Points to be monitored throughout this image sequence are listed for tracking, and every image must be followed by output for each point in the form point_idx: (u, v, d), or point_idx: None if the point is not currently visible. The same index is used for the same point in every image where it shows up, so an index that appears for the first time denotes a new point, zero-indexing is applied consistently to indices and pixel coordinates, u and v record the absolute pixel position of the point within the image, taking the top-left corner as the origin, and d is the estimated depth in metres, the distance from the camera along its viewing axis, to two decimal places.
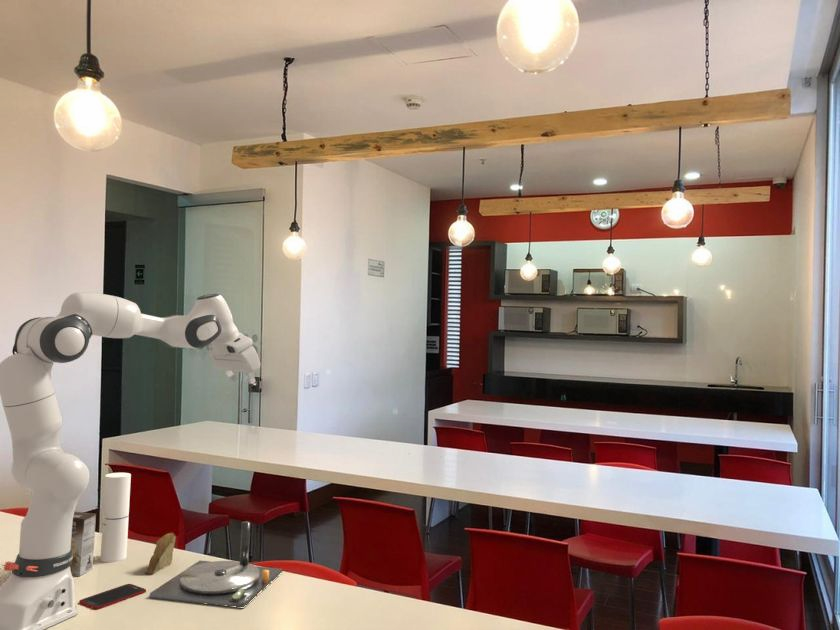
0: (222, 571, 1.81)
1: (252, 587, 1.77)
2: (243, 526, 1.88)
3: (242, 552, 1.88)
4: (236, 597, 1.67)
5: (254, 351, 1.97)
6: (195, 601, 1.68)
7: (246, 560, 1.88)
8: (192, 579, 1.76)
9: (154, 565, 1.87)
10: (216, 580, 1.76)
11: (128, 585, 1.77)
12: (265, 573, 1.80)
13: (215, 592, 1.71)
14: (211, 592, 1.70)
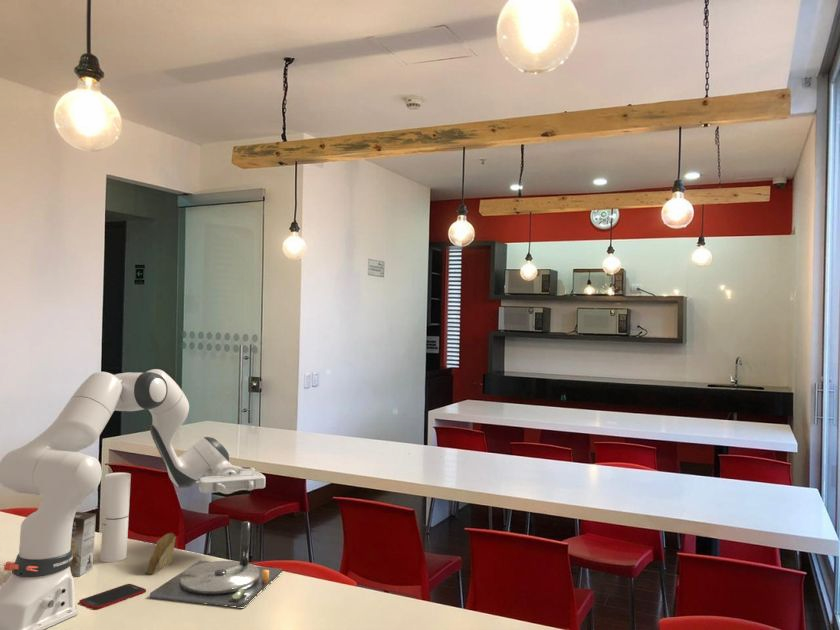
0: (222, 571, 1.81)
1: (252, 587, 1.77)
2: (243, 526, 1.88)
3: (242, 552, 1.88)
4: (236, 597, 1.67)
5: None
6: (195, 601, 1.68)
7: (246, 560, 1.88)
8: (192, 579, 1.76)
9: (154, 565, 1.87)
10: (216, 580, 1.76)
11: (128, 585, 1.77)
12: (265, 573, 1.80)
13: (215, 592, 1.71)
14: (211, 592, 1.70)
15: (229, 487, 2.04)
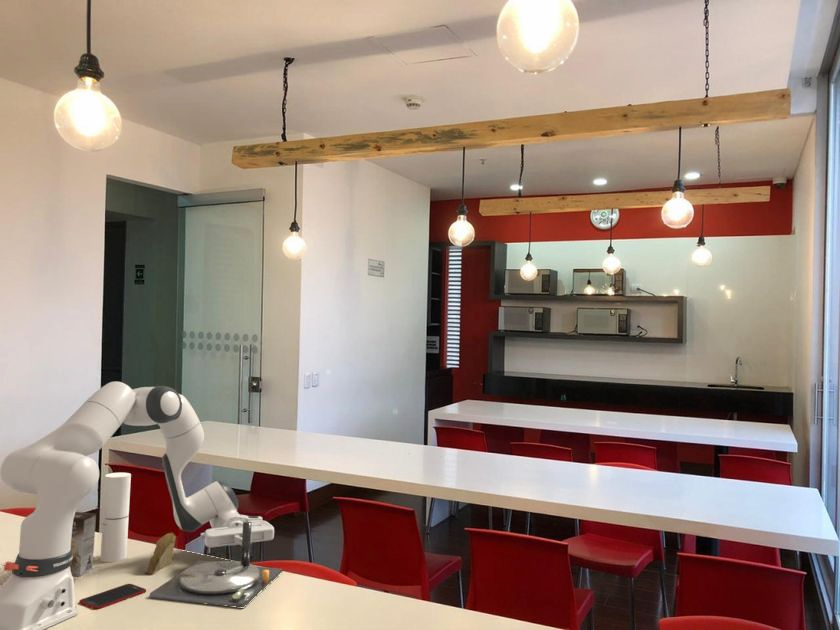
0: (222, 571, 1.81)
1: (252, 587, 1.77)
2: (244, 526, 1.88)
3: (243, 552, 1.88)
4: (236, 597, 1.67)
5: None
6: (195, 601, 1.68)
7: (247, 560, 1.88)
8: (191, 579, 1.76)
9: (154, 565, 1.87)
10: (215, 580, 1.76)
11: (128, 585, 1.77)
12: (265, 573, 1.80)
13: (213, 592, 1.70)
14: (209, 592, 1.70)
15: None
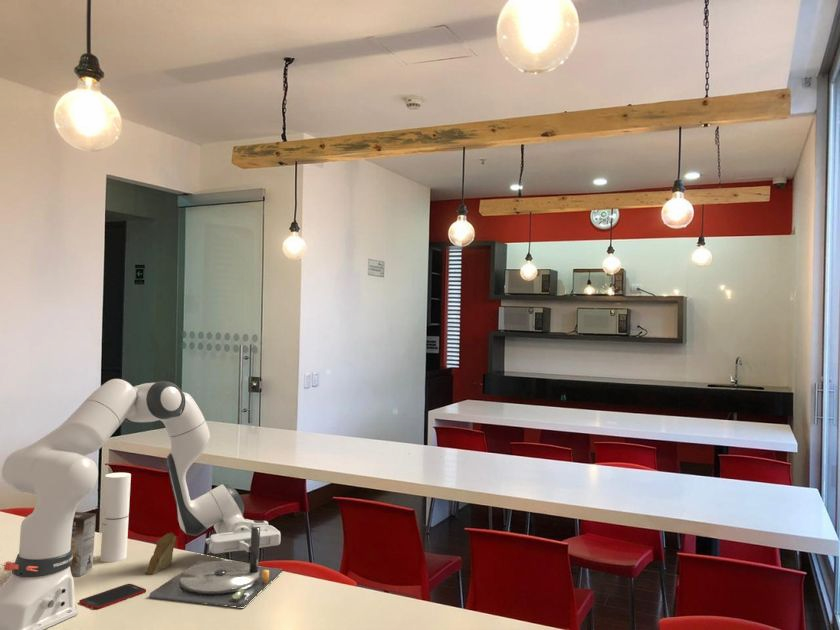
0: (221, 571, 1.81)
1: (252, 587, 1.77)
2: (251, 531, 1.84)
3: (250, 558, 1.83)
4: (236, 597, 1.67)
5: None
6: (195, 601, 1.68)
7: (253, 567, 1.83)
8: (192, 572, 1.81)
9: (154, 565, 1.87)
10: (204, 578, 1.77)
11: (128, 585, 1.77)
12: (265, 573, 1.80)
13: (189, 589, 1.72)
14: (186, 588, 1.72)
15: None
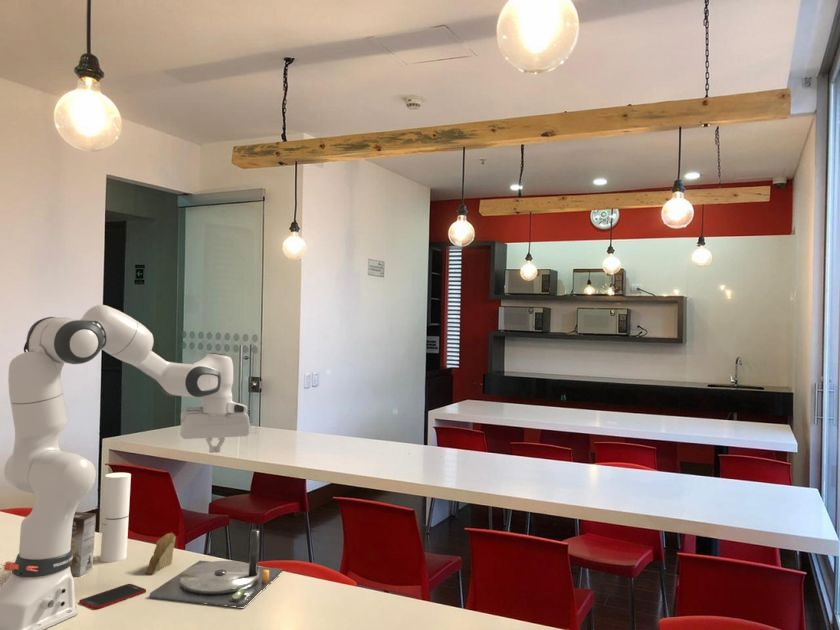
0: (221, 572, 1.80)
1: (252, 587, 1.77)
2: (250, 534, 1.81)
3: (249, 561, 1.81)
4: (236, 597, 1.67)
5: None
6: (195, 601, 1.68)
7: (251, 570, 1.80)
8: (197, 569, 1.84)
9: (154, 565, 1.87)
10: (201, 577, 1.78)
11: (128, 585, 1.77)
12: (265, 573, 1.80)
13: (182, 586, 1.74)
14: (181, 584, 1.75)
15: None
